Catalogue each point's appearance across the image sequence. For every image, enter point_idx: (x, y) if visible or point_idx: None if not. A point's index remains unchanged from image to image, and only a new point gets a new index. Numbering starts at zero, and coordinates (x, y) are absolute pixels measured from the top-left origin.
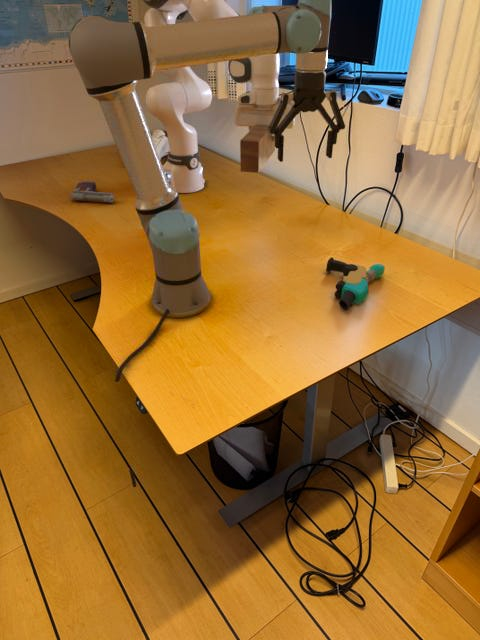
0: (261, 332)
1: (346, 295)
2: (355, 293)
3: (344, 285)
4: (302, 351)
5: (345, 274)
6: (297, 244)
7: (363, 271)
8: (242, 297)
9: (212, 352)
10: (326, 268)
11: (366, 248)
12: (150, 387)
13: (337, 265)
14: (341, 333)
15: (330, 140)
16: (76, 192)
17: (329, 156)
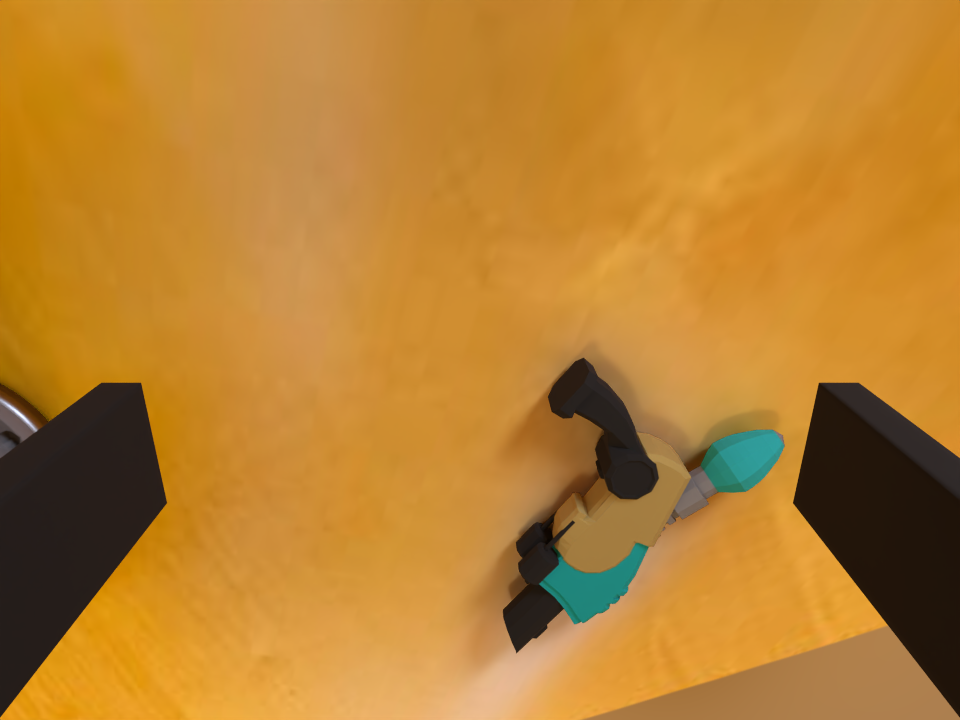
0: (245, 640)
1: (532, 619)
2: (567, 613)
3: (549, 575)
4: (345, 716)
5: (599, 474)
6: (514, 79)
7: (664, 510)
8: (194, 474)
9: (106, 685)
10: (549, 402)
11: (838, 204)
12: None
13: (593, 422)
14: (470, 678)
15: (944, 684)
16: None
17: (807, 515)
